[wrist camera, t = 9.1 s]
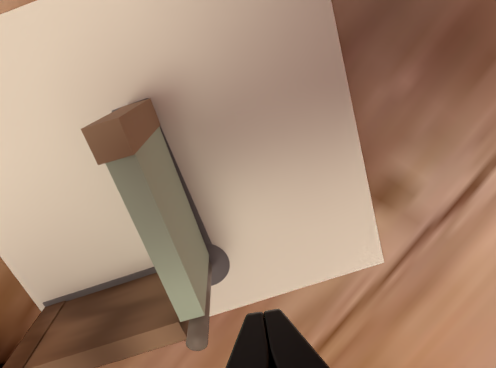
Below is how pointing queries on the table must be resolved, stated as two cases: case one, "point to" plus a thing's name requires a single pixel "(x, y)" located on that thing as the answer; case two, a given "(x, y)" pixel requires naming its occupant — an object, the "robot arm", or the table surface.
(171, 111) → the card
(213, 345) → the table surface
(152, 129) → the swing panel
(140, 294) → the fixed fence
